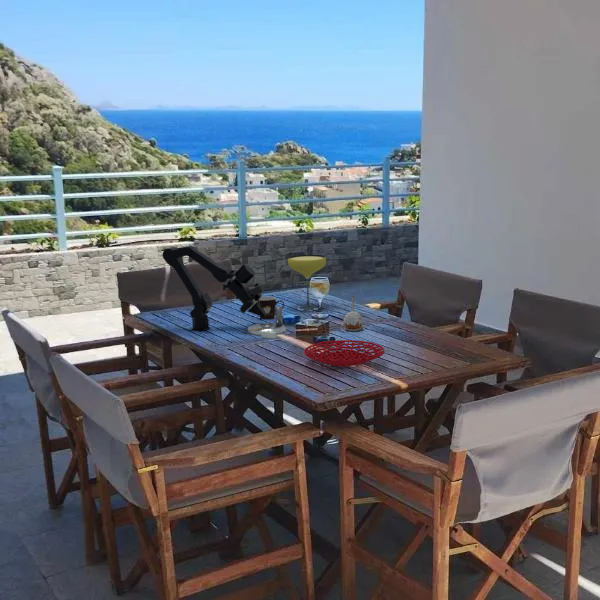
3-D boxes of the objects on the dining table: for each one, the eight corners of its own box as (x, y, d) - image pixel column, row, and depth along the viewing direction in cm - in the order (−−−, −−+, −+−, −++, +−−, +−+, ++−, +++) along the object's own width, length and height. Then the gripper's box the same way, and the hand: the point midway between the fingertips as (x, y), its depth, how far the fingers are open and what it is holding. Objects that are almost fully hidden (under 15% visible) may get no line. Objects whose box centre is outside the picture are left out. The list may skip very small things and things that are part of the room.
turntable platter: (258, 337, 336) (257, 315, 334) (241, 330, 350) (240, 308, 348) (292, 332, 344) (291, 310, 342) (274, 325, 357) (273, 303, 356)
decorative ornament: (365, 330, 347) (364, 296, 344) (348, 332, 345) (347, 297, 342) (358, 326, 354) (357, 293, 351) (341, 328, 352) (340, 294, 349)
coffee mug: (254, 321, 370) (253, 299, 368) (262, 317, 378) (261, 296, 376) (278, 322, 366) (277, 301, 364) (285, 318, 374) (285, 297, 372)
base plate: (233, 336, 344) (232, 326, 343) (261, 326, 361) (260, 317, 360) (272, 341, 333) (272, 331, 332) (299, 330, 350) (298, 321, 349)
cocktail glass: (327, 312, 385) (326, 259, 380) (289, 313, 385) (287, 260, 380) (326, 304, 402) (325, 254, 397) (290, 305, 403) (288, 255, 398)
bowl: (325, 379, 280) (325, 365, 279) (291, 359, 307) (291, 346, 306) (399, 367, 292) (399, 354, 291) (361, 349, 318) (361, 336, 317)
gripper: (246, 282, 340) (273, 308, 340) (257, 274, 358) (282, 299, 358) (229, 300, 343) (255, 326, 343) (240, 291, 361) (265, 316, 361)
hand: (265, 316), depth 351 cm, fingers closed
